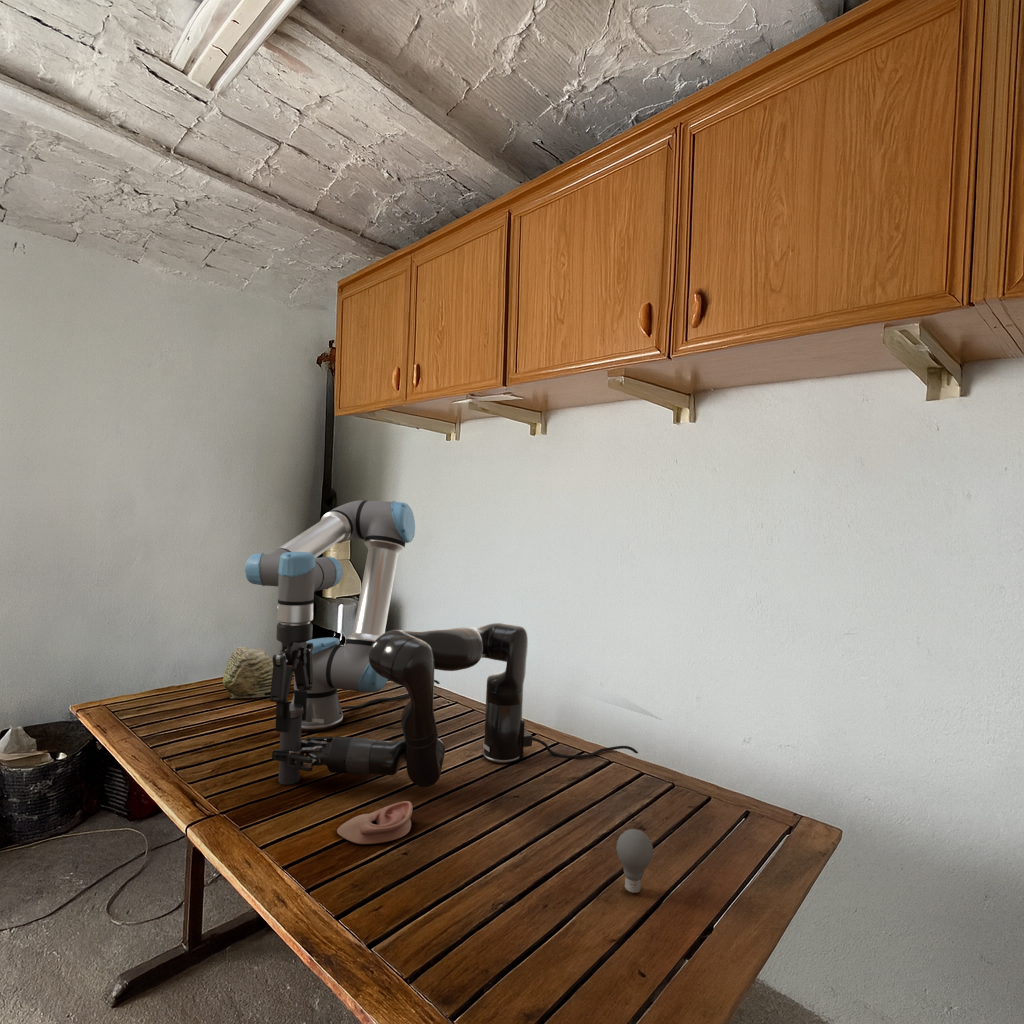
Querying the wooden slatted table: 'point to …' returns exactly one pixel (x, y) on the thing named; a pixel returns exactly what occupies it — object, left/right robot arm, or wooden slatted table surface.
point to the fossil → (248, 673)
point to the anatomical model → (379, 825)
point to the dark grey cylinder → (290, 742)
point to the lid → (295, 710)
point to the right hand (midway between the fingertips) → (278, 750)
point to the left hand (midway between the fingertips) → (291, 725)
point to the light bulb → (634, 857)
